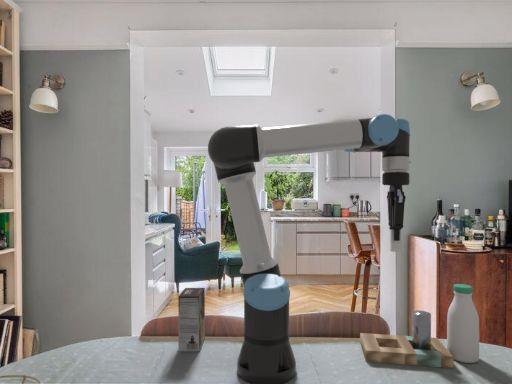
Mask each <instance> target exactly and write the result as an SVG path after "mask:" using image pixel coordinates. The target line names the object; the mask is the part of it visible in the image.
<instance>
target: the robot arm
mask: <svg viewBox="0 0 512 384" xmlns="http://www.w3.org/2000/svg"><path fill="white" fill-rule="evenodd" d="M410 136H411V131H410V123H409V121H408V120H407V119H405V118H395V117H394V116H393V115H391V114H387V113H380V114H378V115H377V114H376V115H375V116H373V117H369V118H368V117H367V118H359V119H347V120H346V119H345V120H337V121H326V122H315V123H304V124H293V125H292V124H291V125H283V126H282V125H281V126H272V127H263V128H262V127H261V126H259V124H251V125H233V126H225V127H221V128H219V129H218V130H216V131H214V132H213V134H212V135H211V136H210V138H209V140H208V144H207V152H208V156H209V158H210V161H211V162H212V163H213V166H214V170H215V174H216V179H217V182H218V183H219V184H221V185H222V186H224V189H225V190H224V191H225V195H226V197H227V202H228V206H229V210H230V215H231V218H232V222H233V223H232V224H233V227H234V231H235V236H236V238H237V243H238V247H239V252H240V255H241V261H242V266H241V268H240V270H239V274H240V277H241V281H242V287H243V292H242V293H243V299H244V300H243V309H244V310H243V312H244V313H243V330H244V331H243V333H244V334H243V342H242V345H241V348H240V350H239V353H238V354H239V355H238V357H237V363H236V364H237V365H236V369H237V371H236V372H237V374H238V376H239V377H240V378H241V379H243V380H244V381H246V382H248V383H251V384H284V383H286V382H289V381H291V380H292V379H293V378H295V376H296V372H297V362H296V358H295V355H294V352H293V348H292V345H291V342H290V297H291V290H290V285H289V282H288V280H287V279H285V278H284V277H283V276H282V274H281V270H280V266H279V262H278V261H277V260H276V259H275V258H273V257H272V254H271V250H270V246H269V241H268V238H267V234H266V230H265V226H264V222H263V218H262V213H261V209H260V205H259V201H258V197H257V192H256V189H255V184H254V180H253V179H254V178H255V176H256V174H257V170H256V167H255V163H261V162H262V161H263V159H265V158H272V157H273V158H274V157H282V156H294V155H305V154H314V153H322V152H323V153H324V152H332V151H341V150H343V151H344V152H346V153H347V152H349V153H381V154H382V155H381V156H382V157H381V163H382V164H381V170H382V172H383V173H382V176H381V177H382V179H381V181H382V182H381V183H382V185H383V186H389V187H388V188H389V189H388V191H387V196H386V200H387V201H386V202H387V216H388V219H387V220H388V226H389V227H388V229H389V230H390V231H389V232H390V236H389V238H390V240H389V245H390V247H389V248H390V249H389V250H390V252H393V253H394V252H397V253H401V252H402V229H403V228H404V220H405V219H404V217H405V204H406V198H407V197H406V195H405V191H403V186H408V185H410V173H409V172H408V171H409V170H410V165H411V164H412V161H411V160H410Z"/></svg>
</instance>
